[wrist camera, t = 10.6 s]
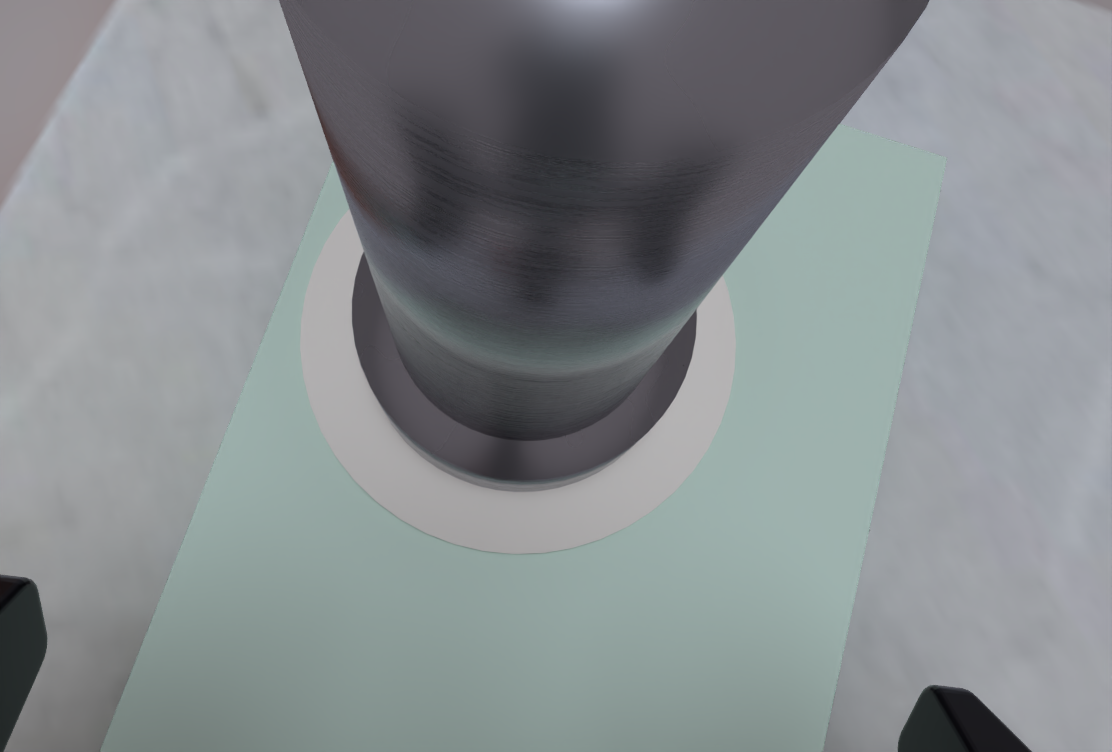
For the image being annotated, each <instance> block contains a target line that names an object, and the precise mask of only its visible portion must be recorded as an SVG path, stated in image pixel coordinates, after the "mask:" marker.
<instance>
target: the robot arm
mask: <svg viewBox="0 0 1112 752" xmlns="http://www.w3.org/2000/svg"><path fill="white" fill-rule="evenodd" d="M46 648H47V632H46V627H45V622H44V617H43V612H42V607H41V602H40V598H39V593H38V589H37V586H36V584H35V583H34V582H33V581H32V580H31V579H28V578H25V577H16V576H8V575H0V752H3V751H4V749H5V747H6V745H7V742H8V740H9V738H10V736H11V733H12V731H13V729H14V726H15V724H16V722H17V720H18V717H19V715H20V713H21V710H22V708H23V706H24V704H25V701H26V699H27V697H28V694H29V692H30V690H31V688H32V685H33V683H34V681H35V679H36V676H37V674H38V672H39V669H40V667H41V665H42V662H43V660H44V657H45V653H46ZM898 752H1032V751H1031V750H1030V749H1029V748H1028V747H1027V746H1026V745H1025V744H1024V743H1023V742H1022V741H1021V740H1020V739H1019V738H1018V737H1017V736H1016V735H1015V734H1014V733H1013V732H1012V731H1011V730H1010V729H1009V728H1008V727H1007V726H1006V725H1005V724H1004V723H1003V722H1002V721H1001V720H1000V719H999V718H998V717H996V716H995V715H994V714H993V713H992V712H991V711H990V710H989V709H988V708H987V707H986V706H985V705H984V704H983V703H982V702H981V701H980V700H979V699H978V698H977V697H976V696H975V695H974V694H973V693H971V692H970V691H968V690H966V689H963V688H955V687H947V686H938V685H931V686H928V687H927V688H925V689H924V690H923V691H922V693H921V695H920V697H919V699H918V701H917V702H916V704H915V706H914V708H913V710H912V712H911V714H910V716H909V718H908V720H907V722H906V724H905V726H904V728H903V730H902V732H901V735H900V738H899V742H898Z"/></svg>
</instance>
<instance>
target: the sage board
mask: <svg viewBox="0 0 1112 752" xmlns="http://www.w3.org/2000/svg"><path fill="white" fill-rule="evenodd" d="M946 161H947V157H943V156H940V155H937V154H934V153H931V152H928V151H924V150H921V149H918V148H915V147H912V146H908V145H905V144H902V143H899V142H896V141H893V140H889V139H886V138H883V137H880V136H877V135H873V134H870V133H867V132H864V131H861V130H858V129H854V128H851V127H848V126H845V125H842V124H839V125H838V126H837V128H836V129H835V130H834V131H833V133H832V134H831V135H830V137H829V138H828V139H827V141H826V142H825V143H824V144H823V146H822V147H821V148H820V150H819V151H818V152H817V154H816V155H815V156H814V157H813V159H812V160H811V161H810V163H809V164H808V165H807V166H806V168H805V169H804V170H803V172H802V173H801V174H800V176H799V177H798V178H797V179H796V181H795V182H794V183H793V185H792V186H791V187H790V189H789V190H788V191H787V192H786V194H785V195H784V196H783V198H782V199H781V200H780V202H779V203H778V204H777V205H776V207H775V208H774V209H773V211H772V212H771V213H770V214H769V216H768V217H767V218H766V220H765V221H764V222H763V224H762V225H761V226H760V227H759V229H758V230H757V231H756V233H755V234H754V235H753V237H752V238H751V239H750V240H749V242H748V243H747V244H746V246H745V247H744V248H743V250H742V251H741V252H740V253H739V255H738V256H737V257H736V259H735V260H734V261H733V262H732V264H731V265H730V266H729V268H728V269H727V270H726V272H725V273H724V274H723V275H722V277H721V278H720V279H719V281H718V282H717V283H716V285H715V286H714V287H713V288H712V290H711V291H710V292H709V294H708V295H707V296H706V298H705V299H704V300H703V301H702V303H701V304H700V305H699V307H698V308H697V326H696V339H695V344H694V349H693V355H692V359H691V362H690V365H689V368H688V371H687V374H686V377H685V379H684V381H683V383H682V385H681V387H680V389H679V391H678V393H677V395H676V397H675V399H674V400H673V402H672V403H671V405H670V406H669V408H668V409H667V411H666V412H665V414H664V415H663V416H662V417H661V418H660V420H659V421H658V422H657V423H656V424H655V425H654V426H653V427H652V428H651V430H650V431H649V432H648V433H647V434H646V435H645V436H644V437H642V438H641V439H640V440H639V441H638V442H637V443H636V444H635V445H634V446H633V447H632V448H631V449H630V450H628V451H627V452H626V453H625V454H624V455H623V456H621V457H620V458H619V459H618V460H617V461H615V462H614V463H612V464H611V465H609V466H608V467H606V468H605V469H603V470H602V471H600V472H598V473H596V474H594V475H592V476H590V477H588V478H586V479H583V480H581V481H579V482H576V483H573V484H570V485H566V486H563V487H560V488H555V489H549V490H543V491H532V492H512V491H501V490H494V489H490V488H485V487H481V486H476V485H474V484H471V483H468V482H465V481H463V480H460V479H457V478H455V477H453V476H451V475H449V474H448V473H446V472H444V471H442V470H440V469H438V468H437V467H435V466H434V465H432V464H431V463H430V462H428V461H427V460H425V459H424V458H423V457H421V456H420V455H419V454H418V453H417V452H416V451H415V450H414V449H412V448H411V447H410V446H409V445H408V444H407V443H406V442H405V441H404V440H403V438H402V437H401V436H400V435H399V433H398V432H397V431H396V430H395V429H394V427H393V426H392V425H391V423H390V421H389V420H388V418H387V416H386V415H385V413H384V412H383V410H382V408H381V406H380V405H379V403H378V401H377V399H376V397H375V395H374V393H373V391H372V389H371V388H370V385H369V383H368V381H367V379H366V376H365V374H364V372H363V369H362V367H361V364H360V361H359V357H358V354H357V350H356V347H355V342H354V335H353V327H352V296H353V289H354V282H355V277H356V273H357V270H358V266H359V263H360V259H361V256H362V254H363V252H364V250H363V247H362V244H361V241H360V238H359V235H358V232H357V229H356V227H355V224H354V221H353V218H352V215H351V212H350V209H349V206H348V203H347V200H346V197H345V194H344V191H343V188H342V185H341V182H340V179H339V176H338V173H337V170H336V167H335V164H334V161H333V162H332V165H331V167H330V170H329V172H328V175H327V177H326V180H325V182H324V185H323V187H322V190H321V192H320V195H319V197H318V200H317V203H316V205H315V208H314V210H313V213H312V215H311V218H310V220H309V223H308V225H307V228H306V230H305V233H304V235H303V238H302V240H301V243H300V246H299V248H298V251H297V253H296V256H295V258H294V261H293V263H292V266H291V268H290V271H289V273H288V276H287V278H286V281H285V283H284V286H283V289H282V291H281V294H280V296H279V299H278V301H277V304H276V306H275V309H274V311H273V314H272V316H271V319H270V321H269V324H268V326H267V329H266V332H265V334H264V337H263V339H262V342H261V344H260V347H259V349H258V352H257V354H256V357H255V359H254V362H253V364H252V367H251V369H250V372H249V375H248V377H247V380H246V382H245V385H244V387H243V390H242V392H241V395H240V397H239V400H238V402H237V405H236V407H235V410H234V413H233V415H232V418H231V420H230V423H229V425H228V428H227V430H226V433H225V435H224V438H223V440H222V443H221V445H220V448H219V450H218V453H217V456H216V458H215V461H214V463H213V466H212V468H211V471H210V473H209V476H208V478H207V481H206V483H205V486H204V488H203V491H202V493H201V496H200V499H199V501H198V504H197V506H196V509H195V511H194V514H193V516H192V519H191V521H190V524H189V526H188V529H187V531H186V534H185V536H184V539H183V542H182V544H181V547H180V549H179V552H178V554H177V557H176V559H175V562H174V564H173V567H172V569H171V572H170V574H169V577H168V579H167V582H166V585H165V587H164V590H163V592H162V595H161V597H160V600H159V602H158V605H157V607H156V610H155V612H154V615H153V617H152V620H151V622H150V625H149V628H148V630H147V633H146V635H145V638H144V640H143V643H142V645H141V648H140V650H139V653H138V655H137V658H136V660H135V663H134V665H133V668H132V671H131V673H130V676H129V678H128V681H127V683H126V686H125V688H124V691H123V693H122V696H121V698H120V701H119V703H118V706H117V708H116V711H115V714H114V716H113V719H112V721H111V724H110V726H109V729H108V731H107V734H106V736H105V739H104V741H103V744H102V746H101V749H100V751H99V752H823V748H824V743H825V738H826V733H827V729H828V724H829V719H830V714H831V710H832V705H833V700H834V695H835V691H836V686H837V681H838V676H839V671H840V667H841V662H842V657H843V652H844V648H845V643H846V638H847V633H848V629H849V624H850V619H851V614H852V609H853V605H854V600H855V595H856V590H857V586H858V581H859V576H860V571H861V566H862V562H863V557H864V552H865V547H866V543H867V538H868V533H869V528H870V524H871V519H872V514H873V509H874V504H875V500H876V495H877V490H878V485H879V481H880V476H881V471H882V466H883V462H884V457H885V452H886V447H887V442H888V438H889V433H890V428H891V423H892V419H893V414H894V409H895V404H896V400H897V395H898V390H899V385H900V380H901V376H902V371H903V366H904V361H905V357H906V352H907V347H908V342H909V338H910V333H911V328H912V323H913V318H914V314H915V309H916V304H917V299H918V295H919V290H920V285H921V280H922V276H923V271H924V266H925V261H926V256H927V252H928V247H929V242H930V237H931V233H932V228H933V223H934V218H935V214H936V209H937V204H938V199H939V194H940V190H941V185H942V180H943V175H944V171H945V166H946Z"/></svg>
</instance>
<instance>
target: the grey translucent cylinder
mask: <svg viewBox="0 0 1112 752" xmlns="http://www.w3.org/2000/svg"><path fill="white" fill-rule="evenodd" d="M279 1H280V4H281V7H282V10H283V13H284V16H285V19H286V22H287V25H288V28H289V31H290V34H291V37H292V40H293V43H294V46H295V49H296V52H297V55H298V58H299V61H300V63H301V66H302V69H303V72H304V75H305V78H306V81H307V84H308V87H309V90H310V93H311V96H312V99H313V102H314V105H315V108H316V111H317V114H318V117H319V120H320V123H321V126H322V129H323V132H324V135H325V138H326V141H327V144H328V146H329V149H330V152H331V155H332V158H333V161H334V164H335V167H336V170H337V173H338V176H339V179H340V182H341V185H342V188H343V191H344V194H345V197H346V200H347V203H348V206H349V209H350V212H351V215H352V218H353V221H354V224H355V227H356V229H357V232H358V235H359V238H360V241H361V244H362V247H363V250H364V252H363V254H362V256H361V259H360V263H359V266H358V270H357V273H356V277H355V282H354V289H353V296H352V327H353V335H354V342H355V347H356V350H357V354H358V357H359V361H360V364H361V367H362V369H363V372H364V374H365V376H366V379H367V381H368V383H369V385H370V388H371V389H372V391H373V393H374V395H375V397H376V399H377V401H378V403H379V405H380V406H381V408H382V410H383V412H384V413H385V415H386V416H387V418H388V420H389V421H390V423H391V425H392V426H393V427H394V429H395V430H396V431H397V432H398V433H399V435H400V436H401V437H402V438H403V440H404V441H405V442H406V443H407V444H408V445H409V446H410V447H411V448H412V449H414V450H415V451H416V452H417V453H418V454H419V455H420V456H421V457H423V458H424V459H425V460H427V461H428V462H430V463H431V464H432V465H434V466H435V467H437V468H438V469H440V470H442V471H444V472H446V473H448V474H449V475H451V476H453V477H455V478H457V479H460V480H463V481H465V482H468V483H471V484H474V485H476V486H481V487H485V488H490V489H494V490H501V491H512V492H532V491H543V490H549V489H555V488H560V487H563V486H566V485H570V484H573V483H576V482H579V481H581V480H583V479H586V478H588V477H590V476H592V475H594V474H596V473H598V472H600V471H602V470H603V469H605V468H606V467H608V466H609V465H611V464H612V463H614V462H615V461H617V460H618V459H619V458H620V457H621V456H623V455H624V454H625V453H626V452H627V451H628V450H630V449H631V448H632V447H633V446H634V445H635V444H636V443H637V442H638V441H639V440H640V439H641V438H642V437H644V436H645V435H646V434H647V433H648V432H649V431H650V430H651V428H652V427H653V426H654V425H655V424H656V423H657V422H658V421H659V420H660V418H661V417H662V416H663V415H664V414H665V412H666V411H667V409H668V408H669V406H670V405H671V403H672V402H673V400H674V399H675V397H676V395H677V393H678V391H679V389H680V387H681V385H682V383H683V381H684V379H685V377H686V374H687V371H688V368H689V365H690V362H691V359H692V355H693V349H694V344H695V339H696V326H697V308H698V307H699V305H700V304H701V303H702V301H703V300H704V299H705V298H706V296H707V295H708V294H709V292H710V291H711V290H712V288H713V287H714V286H715V285H716V283H717V282H718V281H719V279H720V278H721V277H722V275H723V274H724V273H725V272H726V270H727V269H728V268H729V266H730V265H731V264H732V262H733V261H734V260H735V259H736V257H737V256H738V255H739V253H740V252H741V251H742V250H743V248H744V247H745V246H746V244H747V243H748V242H749V240H750V239H751V238H752V237H753V235H754V234H755V233H756V231H757V230H758V229H759V227H760V226H761V225H762V224H763V222H764V221H765V220H766V218H767V217H768V216H769V214H770V213H771V212H772V211H773V209H774V208H775V207H776V205H777V204H778V203H779V202H780V200H781V199H782V198H783V196H784V195H785V194H786V192H787V191H788V190H789V189H790V187H791V186H792V185H793V183H794V182H795V181H796V179H797V178H798V177H799V176H800V174H801V173H802V172H803V170H804V169H805V168H806V166H807V165H808V164H809V163H810V161H811V160H812V159H813V157H814V156H815V155H816V154H817V152H818V151H819V150H820V148H821V147H822V146H823V144H824V143H825V142H826V141H827V139H828V138H829V137H830V135H831V134H832V133H833V131H834V130H835V129H836V128H837V126H838V125H839V124H840V122H841V121H842V120H843V118H844V117H845V116H846V115H847V113H848V112H849V111H850V109H851V108H852V107H853V105H854V104H855V103H856V102H857V100H858V99H859V98H860V96H861V95H862V94H863V93H864V91H865V90H866V89H867V87H868V86H869V85H870V83H871V82H872V81H873V80H874V78H875V77H876V76H877V74H878V73H879V72H880V70H881V69H882V68H883V67H884V65H885V64H886V63H887V61H888V60H889V59H890V57H891V56H892V55H893V54H894V52H895V51H896V50H897V48H898V47H899V46H900V45H901V43H902V42H903V40H904V39H905V38H906V36H907V35H908V33H909V32H910V30H911V29H912V27H913V26H914V24H915V23H916V21H917V20H918V19H919V17H920V16H921V14H922V13H923V11H924V10H925V8H926V6H927V4H928V2H929V0H279Z"/></svg>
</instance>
